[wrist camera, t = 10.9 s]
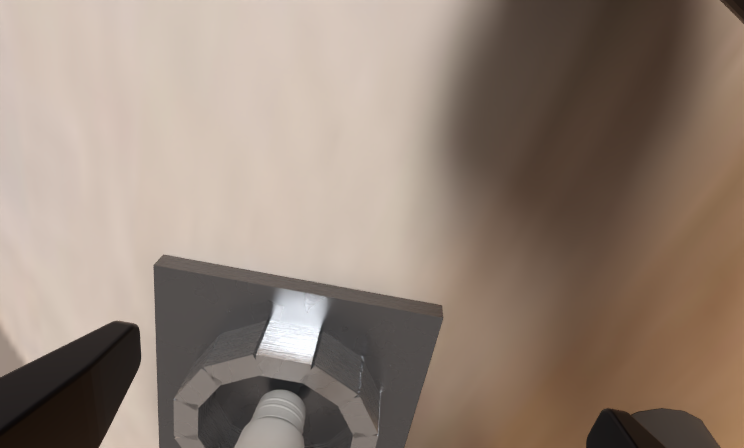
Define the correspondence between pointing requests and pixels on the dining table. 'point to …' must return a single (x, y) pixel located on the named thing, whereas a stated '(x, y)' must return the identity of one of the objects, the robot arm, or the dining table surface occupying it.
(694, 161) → the dining table surface
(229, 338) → the bulb socket
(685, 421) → the candle holder
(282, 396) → the lightbulb
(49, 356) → the robot arm
